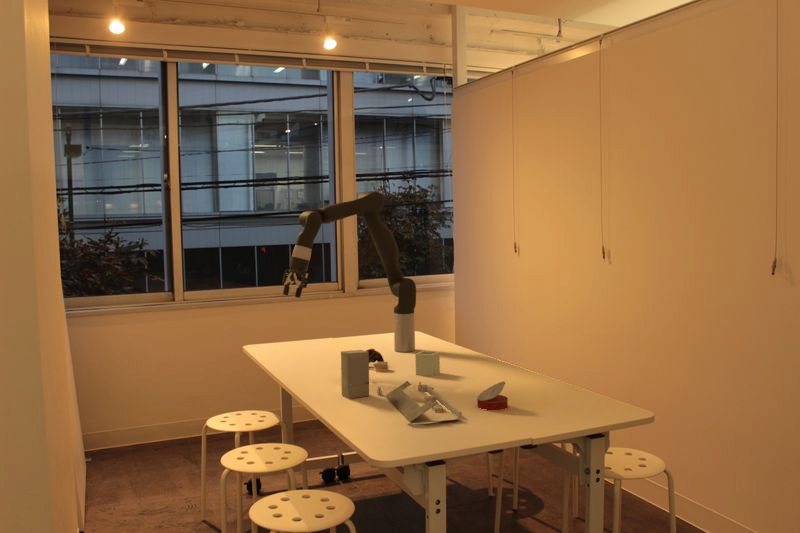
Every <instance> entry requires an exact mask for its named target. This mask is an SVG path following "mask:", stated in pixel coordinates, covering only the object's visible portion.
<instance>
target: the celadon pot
mask: <svg viewBox="0 0 800 533" xmlns="http://www.w3.org/2000/svg"><path fill="white" fill-rule="evenodd" d="M440 354H441V352H440V351H433V350H432V351H431V350H422V351H419V352H417V353H415V356H414V357H415V376H423V377H424V376H425V377H434V376H436V375H439V374H440V373H441V366H440V364H441V362H440V358H441V357H440V356H441V355H440Z"/></svg>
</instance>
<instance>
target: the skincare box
mask: <svg viewBox="0 0 800 533" xmlns="http://www.w3.org/2000/svg"><path fill="white" fill-rule="evenodd" d="M340 362H341V363H340V366H341V367H340V368H341V369H340V370H341V371H340V372H341V374H340V377H341V382H340V383H341V396H343V397H345V398H347V399H349V398H351V399H356V397H358V398H363V396H365V397H369V396H370V366H369V365H370V363H369V352H367V351H366V350H362V349H358V350H357V349H355V350H352V349H351V350H342V351H340Z"/></svg>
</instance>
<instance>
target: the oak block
mask: <svg viewBox="0 0 800 533" xmlns="http://www.w3.org/2000/svg"><path fill="white" fill-rule="evenodd" d="M375 363H376V364H375V365H376V366H375V367H376V368H375V369H376V370H375V371H376V373H379V372H380V373H381V372H384V373H385V372H388V369H389V368H388V365H389V362H388V361H384V362H377V361H376V362H375Z"/></svg>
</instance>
